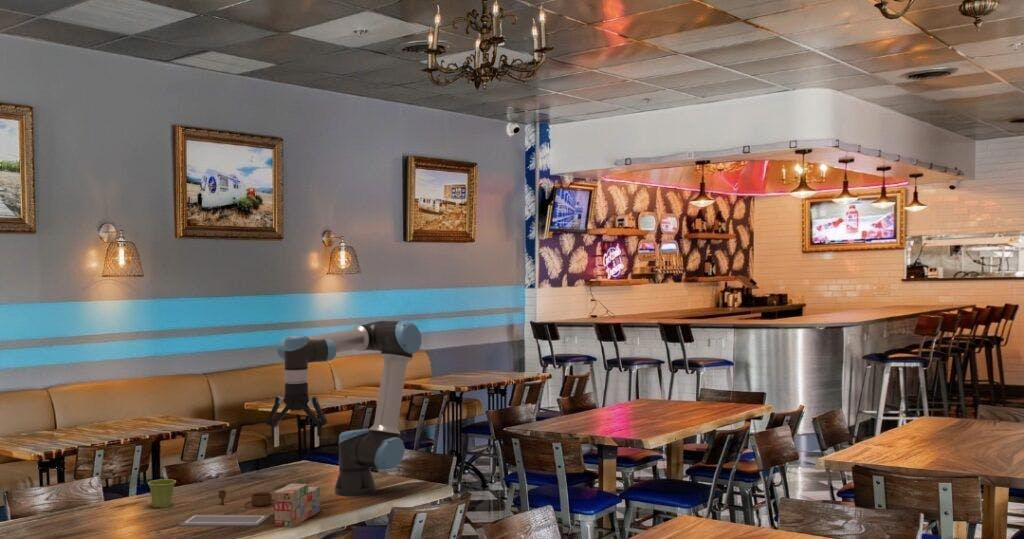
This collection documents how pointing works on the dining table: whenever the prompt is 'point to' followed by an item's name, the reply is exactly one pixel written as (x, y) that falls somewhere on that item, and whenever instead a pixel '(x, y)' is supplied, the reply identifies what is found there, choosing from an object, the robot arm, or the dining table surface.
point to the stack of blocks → (295, 504)
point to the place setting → (253, 499)
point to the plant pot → (161, 492)
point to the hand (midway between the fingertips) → (296, 446)
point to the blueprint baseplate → (224, 520)
